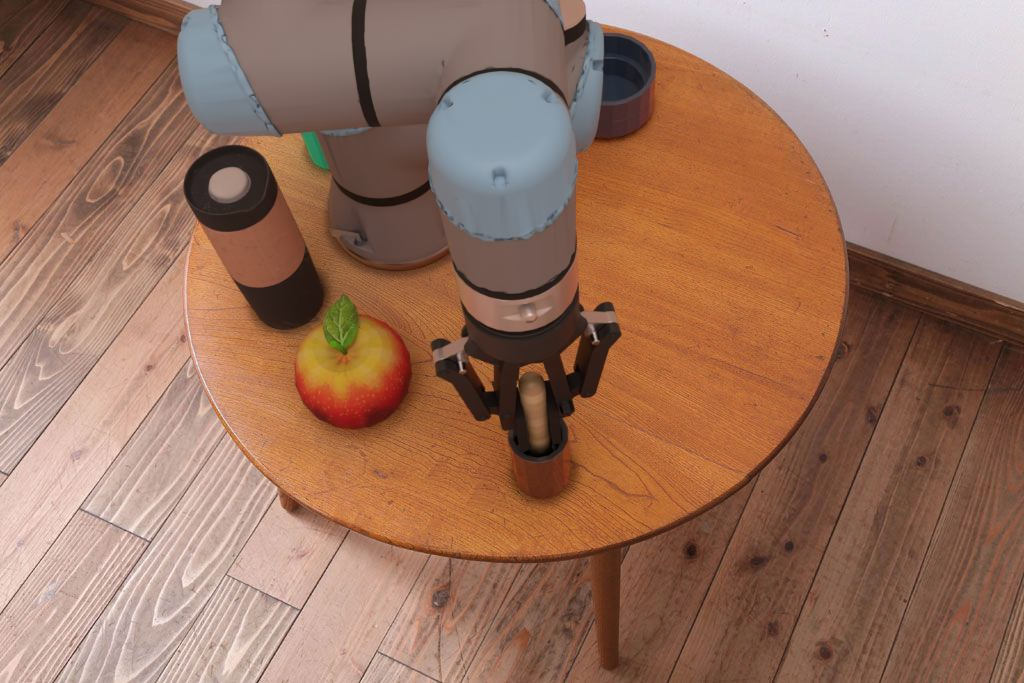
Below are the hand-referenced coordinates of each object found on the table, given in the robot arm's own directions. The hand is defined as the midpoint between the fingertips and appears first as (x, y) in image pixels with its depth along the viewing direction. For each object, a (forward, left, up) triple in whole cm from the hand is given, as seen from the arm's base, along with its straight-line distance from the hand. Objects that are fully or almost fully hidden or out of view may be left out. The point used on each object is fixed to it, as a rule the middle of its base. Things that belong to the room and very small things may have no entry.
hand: (537, 432), depth 84 cm
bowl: (-40, +16, -9) cm, 44 cm away
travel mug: (-24, -21, -10) cm, 33 cm away
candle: (-42, -14, -10) cm, 45 cm away
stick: (0, 0, -9) cm, 9 cm away
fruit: (-12, -15, -10) cm, 22 cm away
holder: (0, 0, -9) cm, 9 cm away
